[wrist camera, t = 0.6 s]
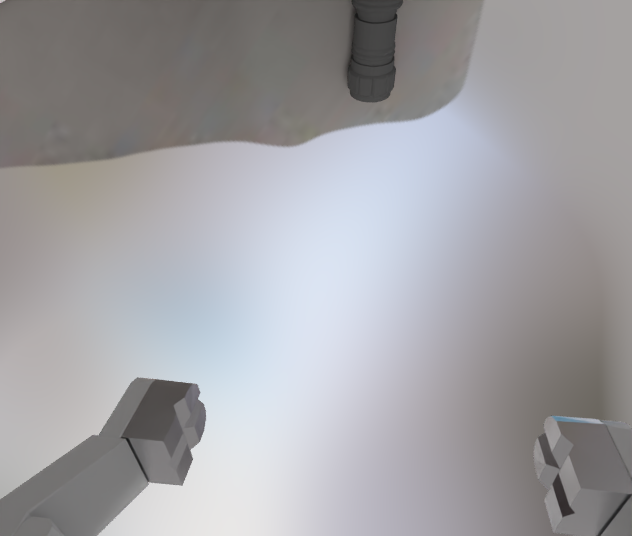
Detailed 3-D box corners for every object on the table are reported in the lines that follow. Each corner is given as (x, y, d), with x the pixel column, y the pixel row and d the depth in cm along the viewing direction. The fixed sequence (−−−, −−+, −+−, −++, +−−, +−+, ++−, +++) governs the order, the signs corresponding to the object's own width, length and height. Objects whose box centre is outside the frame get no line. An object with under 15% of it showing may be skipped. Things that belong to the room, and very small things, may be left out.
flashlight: (388, 83, 51) (398, 106, 47) (343, 86, 51) (349, 108, 47) (406, -81, 39) (420, -68, 36) (348, -78, 39) (356, -65, 36)
